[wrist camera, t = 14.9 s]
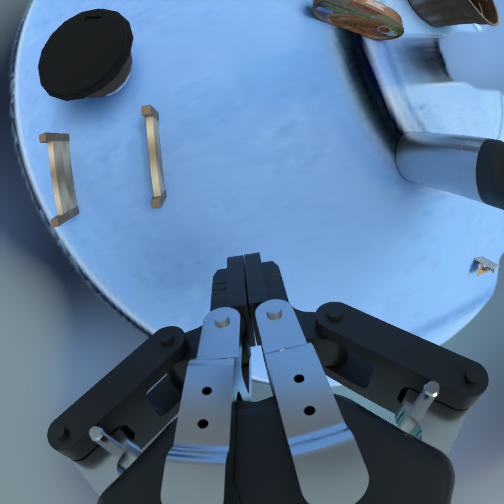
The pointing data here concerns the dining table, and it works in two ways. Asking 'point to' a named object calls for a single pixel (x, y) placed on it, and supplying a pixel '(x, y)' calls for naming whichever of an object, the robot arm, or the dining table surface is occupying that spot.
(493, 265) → the architectural model
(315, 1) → the tin
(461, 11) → the plant pot
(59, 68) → the coffee cup
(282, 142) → the dining table surface
